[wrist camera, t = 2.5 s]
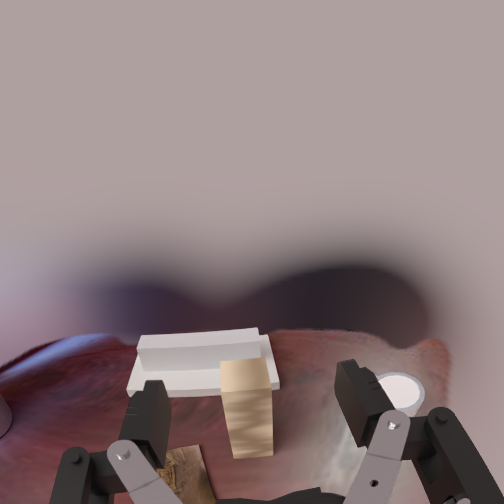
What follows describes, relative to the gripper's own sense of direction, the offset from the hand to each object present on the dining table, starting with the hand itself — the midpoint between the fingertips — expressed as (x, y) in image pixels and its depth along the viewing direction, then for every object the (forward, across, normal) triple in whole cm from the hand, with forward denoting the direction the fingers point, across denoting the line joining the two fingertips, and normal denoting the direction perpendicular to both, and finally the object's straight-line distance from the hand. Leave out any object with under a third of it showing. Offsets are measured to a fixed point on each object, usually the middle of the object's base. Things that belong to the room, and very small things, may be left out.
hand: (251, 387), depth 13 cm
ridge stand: (+27, +7, +21) cm, 35 cm away
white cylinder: (+10, -16, +22) cm, 29 cm away
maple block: (+12, 0, +22) cm, 25 cm away
